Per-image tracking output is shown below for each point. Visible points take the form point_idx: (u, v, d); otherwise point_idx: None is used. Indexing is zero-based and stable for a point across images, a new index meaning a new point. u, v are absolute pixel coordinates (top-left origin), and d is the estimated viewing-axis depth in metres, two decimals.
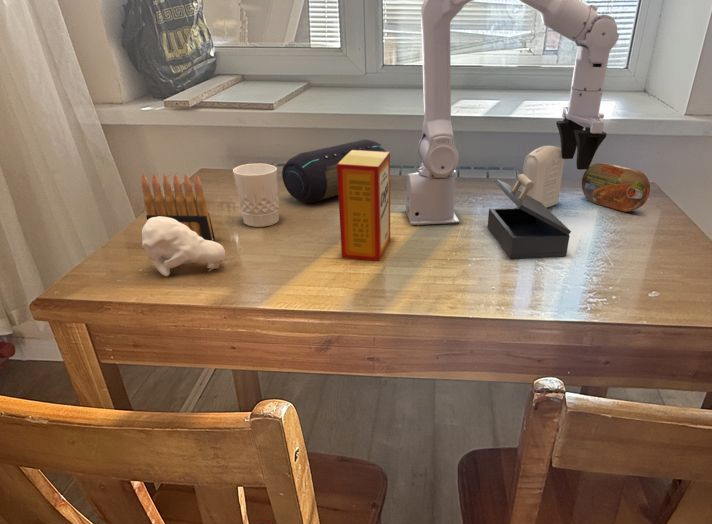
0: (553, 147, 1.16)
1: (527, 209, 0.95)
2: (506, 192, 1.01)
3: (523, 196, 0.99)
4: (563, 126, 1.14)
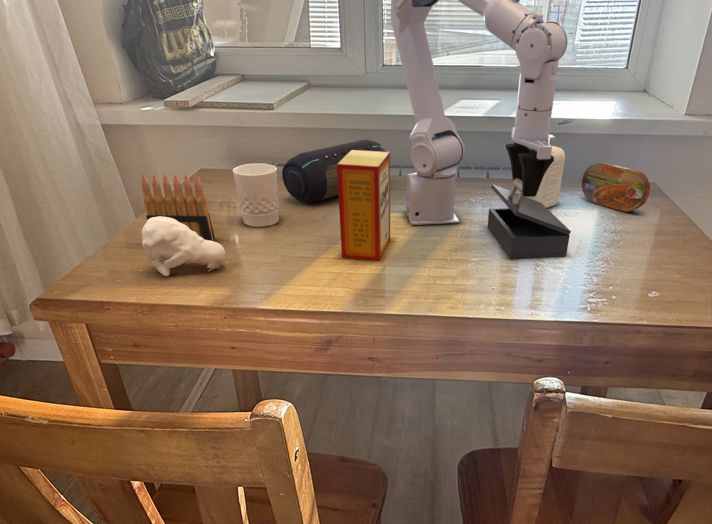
0: (553, 147, 1.16)
1: (524, 215, 0.95)
2: (503, 199, 1.01)
3: (519, 201, 0.99)
4: (512, 150, 1.00)
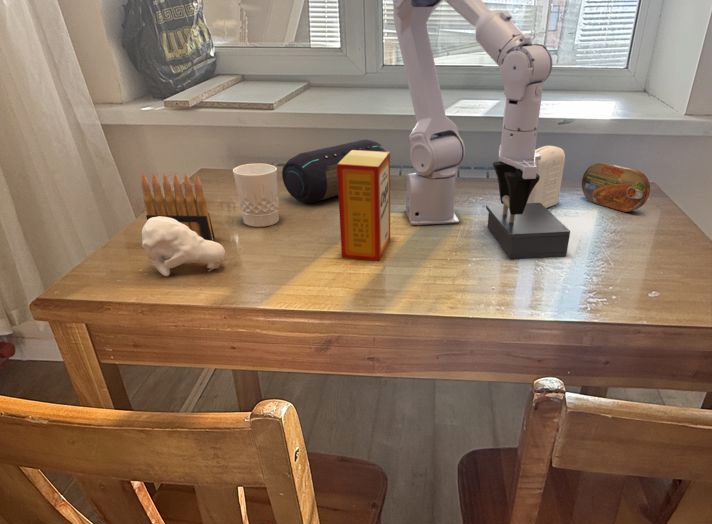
0: (553, 147, 1.16)
1: (517, 235, 0.97)
2: (497, 220, 1.03)
3: (512, 219, 1.01)
4: (499, 168, 1.01)
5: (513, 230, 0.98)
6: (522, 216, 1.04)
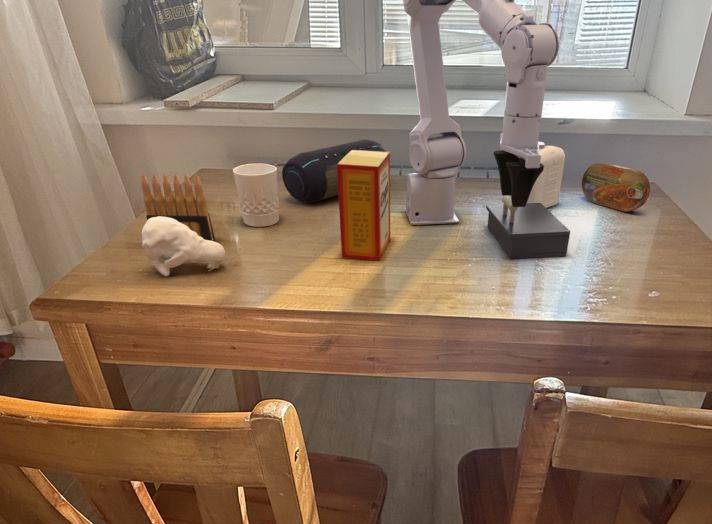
0: (553, 147, 1.16)
1: (517, 235, 0.97)
2: (497, 220, 1.03)
3: (512, 219, 1.01)
4: (500, 158, 0.95)
5: (513, 230, 0.98)
6: (522, 216, 1.04)
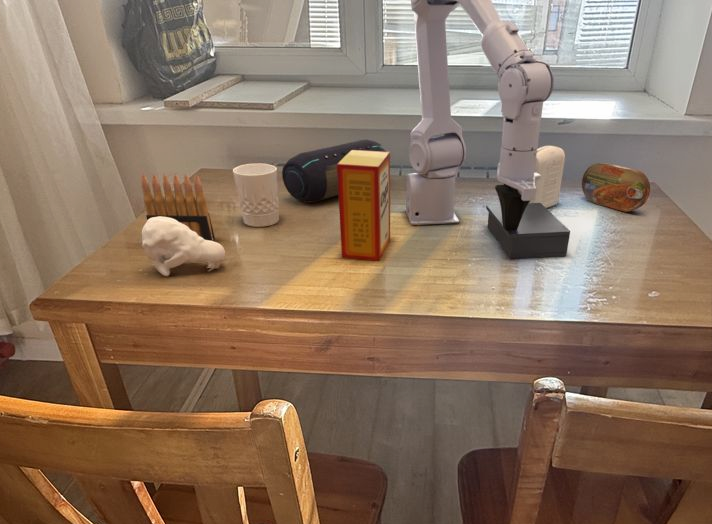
0: (553, 147, 1.16)
1: (517, 235, 0.97)
2: (497, 220, 1.03)
3: None
4: None
5: (513, 230, 0.98)
6: (522, 216, 1.04)
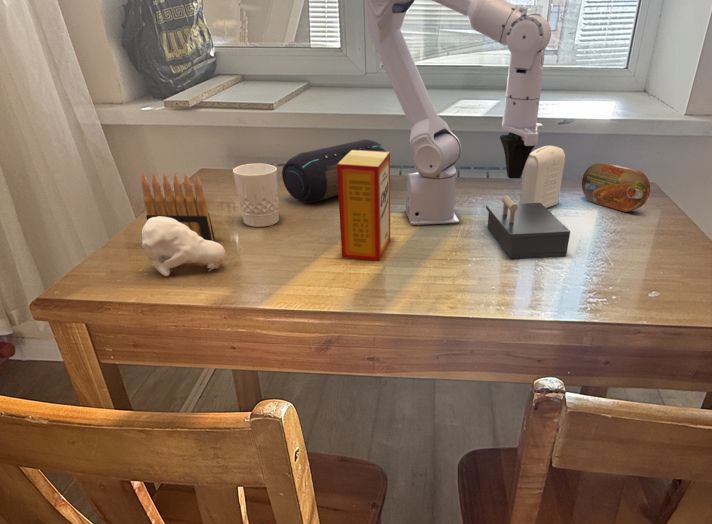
0: (553, 147, 1.16)
1: (517, 235, 0.97)
2: (497, 220, 1.03)
3: (512, 219, 1.01)
4: None
5: (513, 230, 0.98)
6: (522, 216, 1.04)
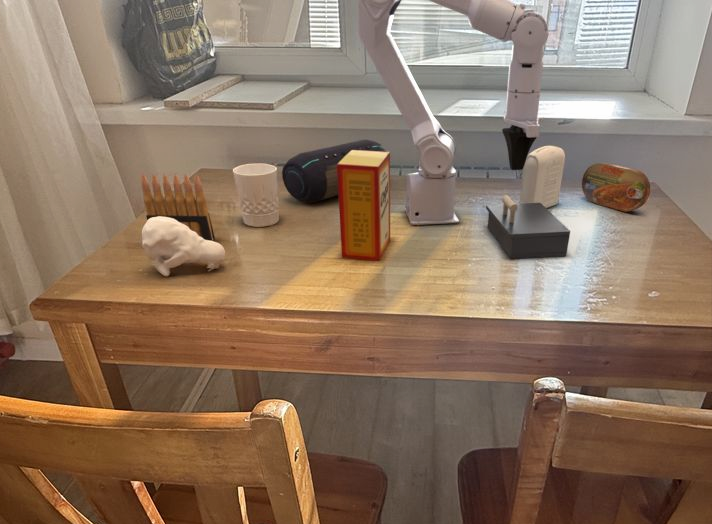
0: (553, 147, 1.16)
1: (517, 235, 0.97)
2: (497, 220, 1.03)
3: (512, 219, 1.01)
4: None
5: (513, 230, 0.98)
6: (522, 216, 1.04)
